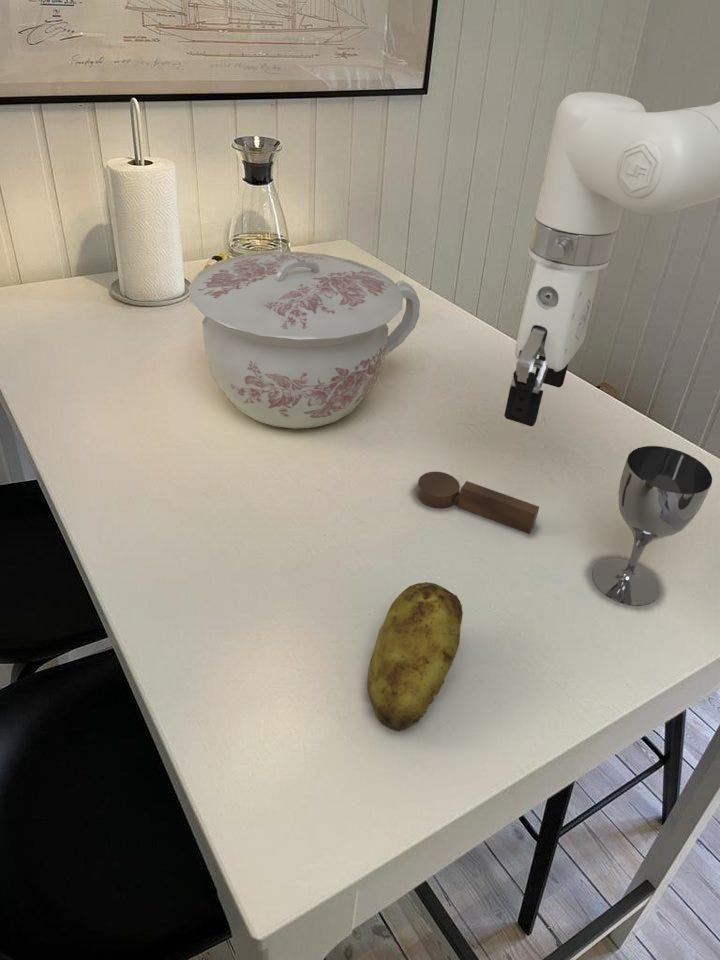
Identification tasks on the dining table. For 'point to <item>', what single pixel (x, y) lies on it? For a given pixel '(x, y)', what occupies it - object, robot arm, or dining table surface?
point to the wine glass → (651, 515)
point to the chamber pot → (299, 333)
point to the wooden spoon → (476, 500)
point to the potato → (413, 653)
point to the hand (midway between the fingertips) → (534, 401)
